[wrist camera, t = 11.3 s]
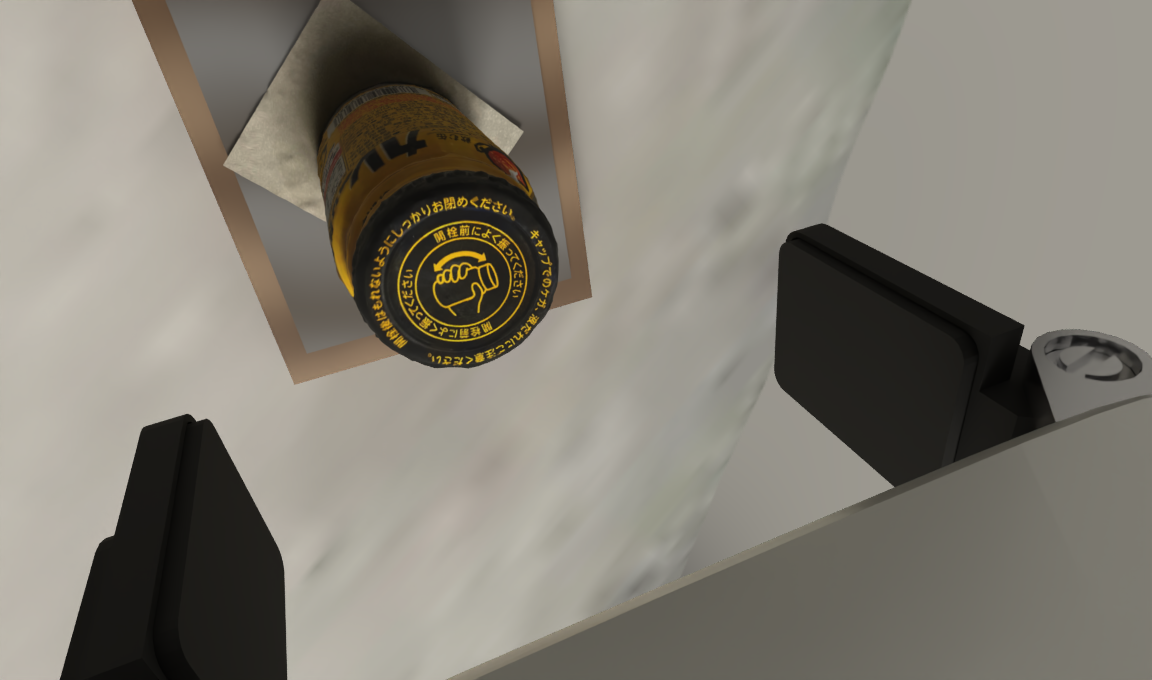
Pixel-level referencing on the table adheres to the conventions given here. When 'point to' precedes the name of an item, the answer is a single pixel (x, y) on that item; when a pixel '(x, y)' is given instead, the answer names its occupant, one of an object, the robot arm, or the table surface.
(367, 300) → the condiment
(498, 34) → the tray
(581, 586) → the table surface
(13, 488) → the table surface
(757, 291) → the table surface
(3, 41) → the table surface
